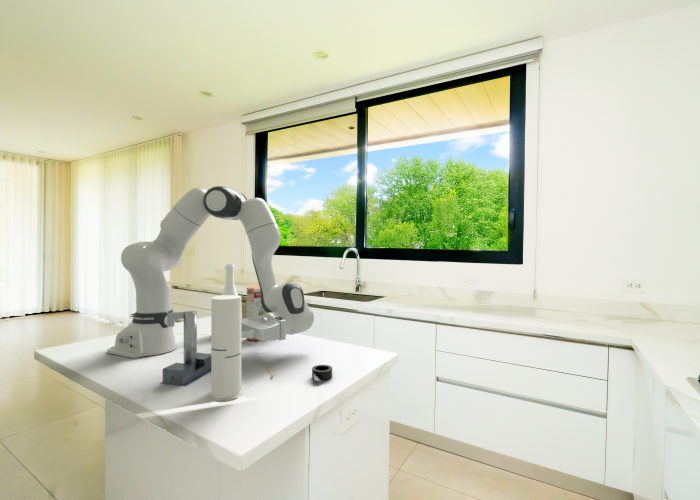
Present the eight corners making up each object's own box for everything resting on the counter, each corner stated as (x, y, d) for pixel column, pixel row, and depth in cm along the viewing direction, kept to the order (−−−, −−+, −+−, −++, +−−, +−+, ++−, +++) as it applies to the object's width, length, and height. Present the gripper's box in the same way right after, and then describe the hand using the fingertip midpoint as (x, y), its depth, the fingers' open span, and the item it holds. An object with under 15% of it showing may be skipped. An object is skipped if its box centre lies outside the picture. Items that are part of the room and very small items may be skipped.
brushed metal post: (197, 372, 101) (196, 310, 101) (196, 376, 98) (196, 312, 98) (168, 375, 98) (168, 312, 98) (167, 380, 95) (167, 314, 95)
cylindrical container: (216, 390, 91) (216, 295, 91) (244, 389, 92) (244, 295, 91) (207, 402, 84) (207, 299, 84) (237, 401, 85) (237, 299, 84)
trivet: (225, 382, 96) (225, 380, 96) (245, 369, 107) (245, 367, 107) (262, 386, 94) (262, 384, 94) (279, 372, 104) (279, 370, 104)
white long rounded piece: (227, 330, 153) (228, 262, 153) (246, 332, 150) (246, 263, 150) (212, 336, 144) (212, 264, 144) (231, 338, 141) (231, 264, 141)
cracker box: (253, 341, 137) (253, 288, 136) (245, 338, 141) (245, 287, 140) (282, 335, 147) (282, 285, 147) (274, 332, 151) (274, 284, 151)
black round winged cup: (300, 379, 100) (300, 369, 100) (326, 370, 107) (326, 360, 107) (317, 387, 94) (317, 376, 94) (343, 377, 102) (343, 367, 102)
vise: (185, 390, 91) (185, 371, 91) (159, 387, 93) (159, 368, 93) (217, 370, 105) (217, 354, 105) (194, 368, 107) (194, 352, 107)
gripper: (256, 311, 124) (217, 317, 115) (288, 320, 109) (247, 328, 100) (256, 329, 124) (218, 336, 115) (288, 340, 109) (247, 349, 100)
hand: (231, 332), depth 107 cm, fingers open, 8 cm apart
